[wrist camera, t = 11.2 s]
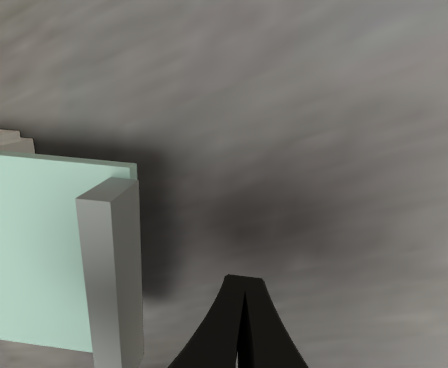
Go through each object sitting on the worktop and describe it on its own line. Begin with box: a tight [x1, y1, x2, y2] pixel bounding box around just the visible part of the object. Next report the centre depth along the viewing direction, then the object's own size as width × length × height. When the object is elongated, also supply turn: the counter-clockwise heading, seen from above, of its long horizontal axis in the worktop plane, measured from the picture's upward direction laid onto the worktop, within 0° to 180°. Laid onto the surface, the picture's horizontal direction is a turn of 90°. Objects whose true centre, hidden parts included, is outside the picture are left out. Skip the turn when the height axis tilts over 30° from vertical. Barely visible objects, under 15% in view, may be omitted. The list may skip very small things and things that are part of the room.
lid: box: [0, 150, 144, 368], centre depth 10 cm, size 9×10×3 cm
